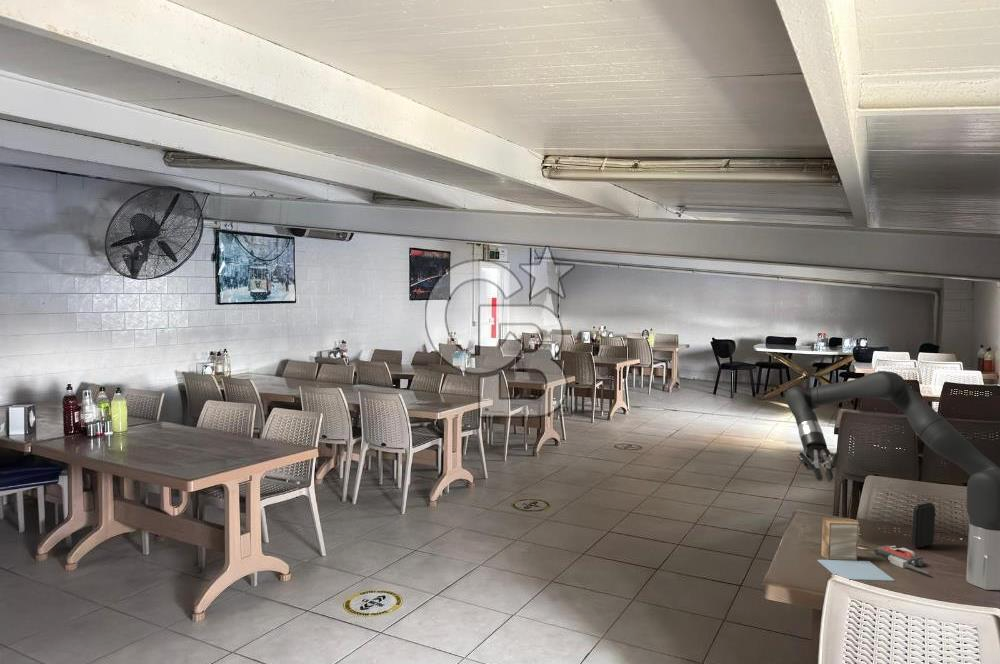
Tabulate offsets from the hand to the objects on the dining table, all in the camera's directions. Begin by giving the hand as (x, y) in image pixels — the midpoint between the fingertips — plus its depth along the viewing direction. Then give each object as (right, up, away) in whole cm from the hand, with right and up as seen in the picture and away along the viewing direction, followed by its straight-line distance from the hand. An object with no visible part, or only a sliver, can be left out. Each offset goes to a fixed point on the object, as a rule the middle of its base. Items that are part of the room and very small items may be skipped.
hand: (825, 479), depth 235 cm
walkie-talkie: (+18, -24, -15) cm, 34 cm away
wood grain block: (-1, -23, -11) cm, 25 cm away
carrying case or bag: (+33, -23, +1) cm, 41 cm away
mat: (-1, -23, -21) cm, 31 cm away
